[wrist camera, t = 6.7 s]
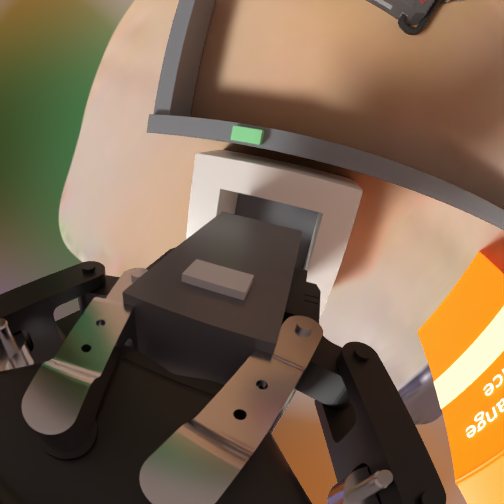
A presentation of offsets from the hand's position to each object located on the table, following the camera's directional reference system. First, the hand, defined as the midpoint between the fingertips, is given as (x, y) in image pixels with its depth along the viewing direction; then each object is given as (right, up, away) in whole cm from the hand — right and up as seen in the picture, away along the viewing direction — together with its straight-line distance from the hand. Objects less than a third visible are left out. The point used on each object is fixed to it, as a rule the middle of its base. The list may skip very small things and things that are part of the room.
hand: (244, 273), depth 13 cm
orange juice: (+20, -4, +6) cm, 21 cm away
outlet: (+2, +3, +7) cm, 8 cm away
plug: (0, +1, +2) cm, 2 cm away
